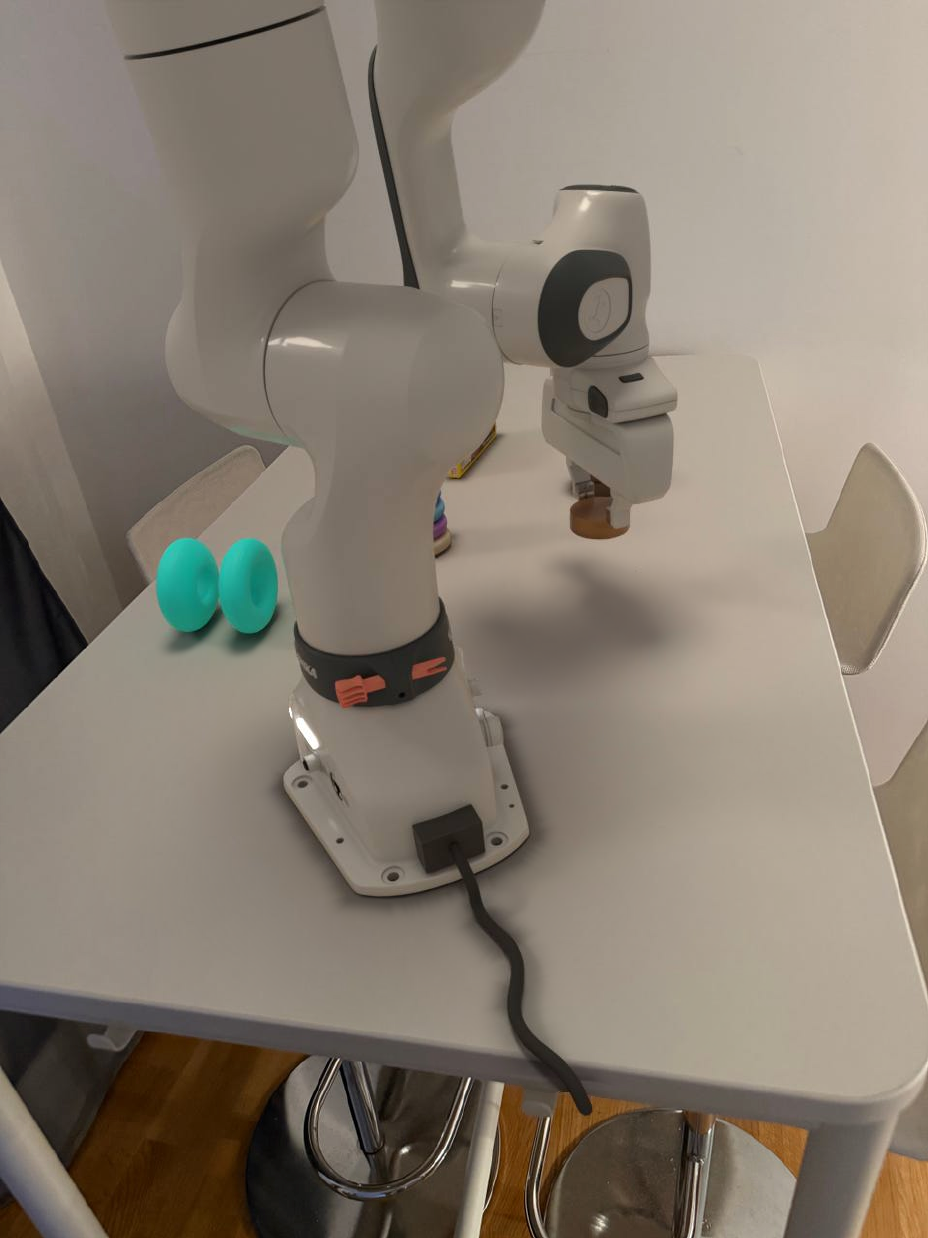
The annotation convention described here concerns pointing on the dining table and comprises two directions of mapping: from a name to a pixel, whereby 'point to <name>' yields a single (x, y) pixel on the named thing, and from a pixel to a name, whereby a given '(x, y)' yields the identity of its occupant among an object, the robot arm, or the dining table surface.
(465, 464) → the candy box
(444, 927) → the dining table surface
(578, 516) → the oak chip
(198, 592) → the donuts
